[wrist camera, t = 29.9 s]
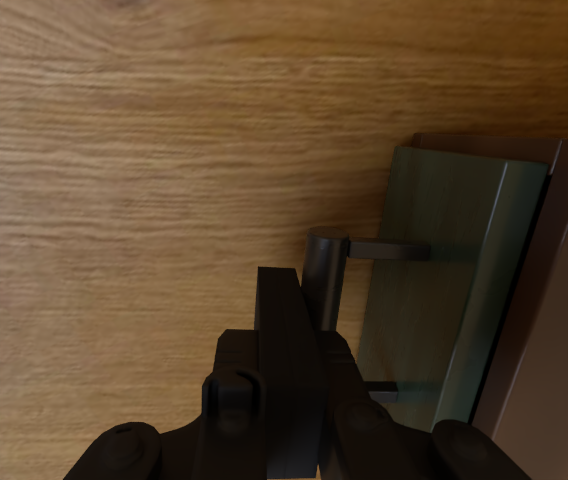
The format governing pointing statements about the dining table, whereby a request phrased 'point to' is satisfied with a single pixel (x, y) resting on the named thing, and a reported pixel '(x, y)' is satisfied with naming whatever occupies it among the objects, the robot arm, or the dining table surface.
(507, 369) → the cabinet
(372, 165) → the dining table surface
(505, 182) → the drawer
